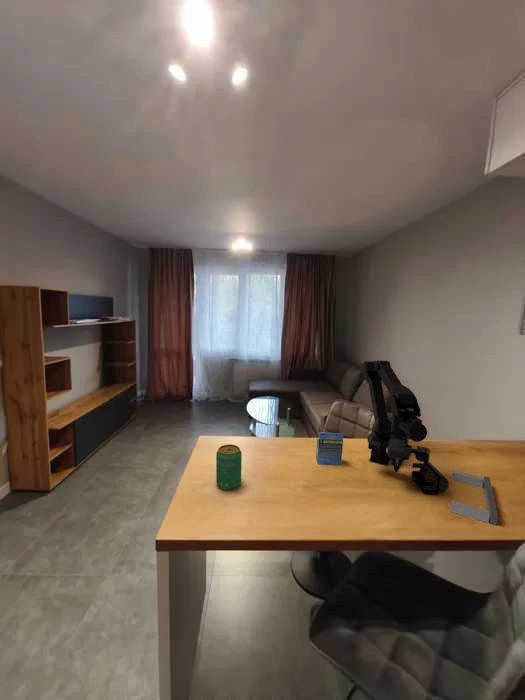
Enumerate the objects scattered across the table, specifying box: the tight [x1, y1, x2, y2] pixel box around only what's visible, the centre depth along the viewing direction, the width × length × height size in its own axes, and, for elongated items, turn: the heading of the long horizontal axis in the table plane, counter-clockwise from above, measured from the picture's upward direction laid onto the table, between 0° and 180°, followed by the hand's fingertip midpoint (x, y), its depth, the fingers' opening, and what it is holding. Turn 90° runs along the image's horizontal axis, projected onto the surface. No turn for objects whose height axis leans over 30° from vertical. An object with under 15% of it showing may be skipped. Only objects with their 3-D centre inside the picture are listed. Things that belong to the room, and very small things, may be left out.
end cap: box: [411, 461, 449, 496], centre depth 107 cm, size 10×7×7 cm
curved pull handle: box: [450, 469, 499, 526], centre depth 101 cm, size 11×22×3 cm, turn 150°
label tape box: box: [315, 431, 344, 466], centre depth 121 cm, size 9×4×12 cm, turn 89°
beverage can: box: [215, 444, 243, 491], centre depth 105 cm, size 8×8×12 cm
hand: (396, 472), depth 112 cm, fingers closed
